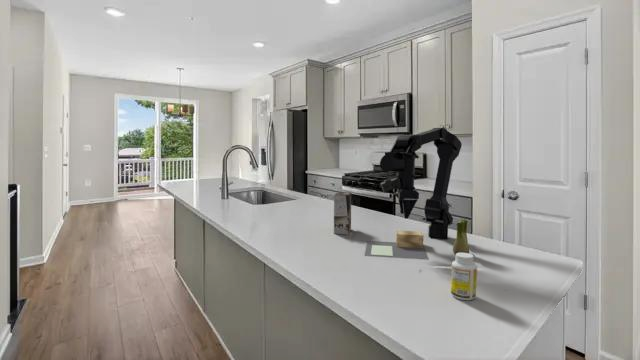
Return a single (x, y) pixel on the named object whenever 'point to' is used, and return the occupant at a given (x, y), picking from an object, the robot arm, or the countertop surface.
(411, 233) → the oak block
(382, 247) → the mat
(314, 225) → the countertop surface
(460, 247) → the fennel bulb
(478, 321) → the countertop surface
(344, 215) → the coffee box
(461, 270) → the supplement bottle
